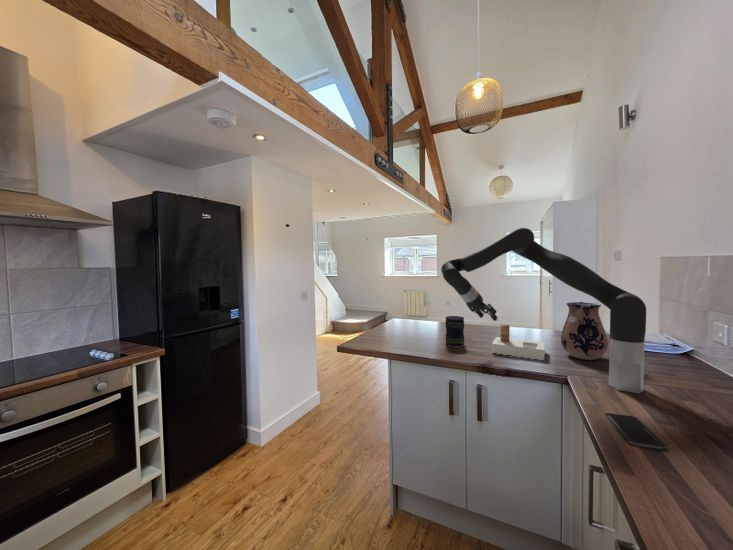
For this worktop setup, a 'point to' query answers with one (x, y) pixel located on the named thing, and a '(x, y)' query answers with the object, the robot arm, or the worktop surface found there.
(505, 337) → the peg
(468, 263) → the robot arm
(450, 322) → the storage jar
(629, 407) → the worktop surface
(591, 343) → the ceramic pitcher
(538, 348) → the socket block
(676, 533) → the worktop surface
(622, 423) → the phone
